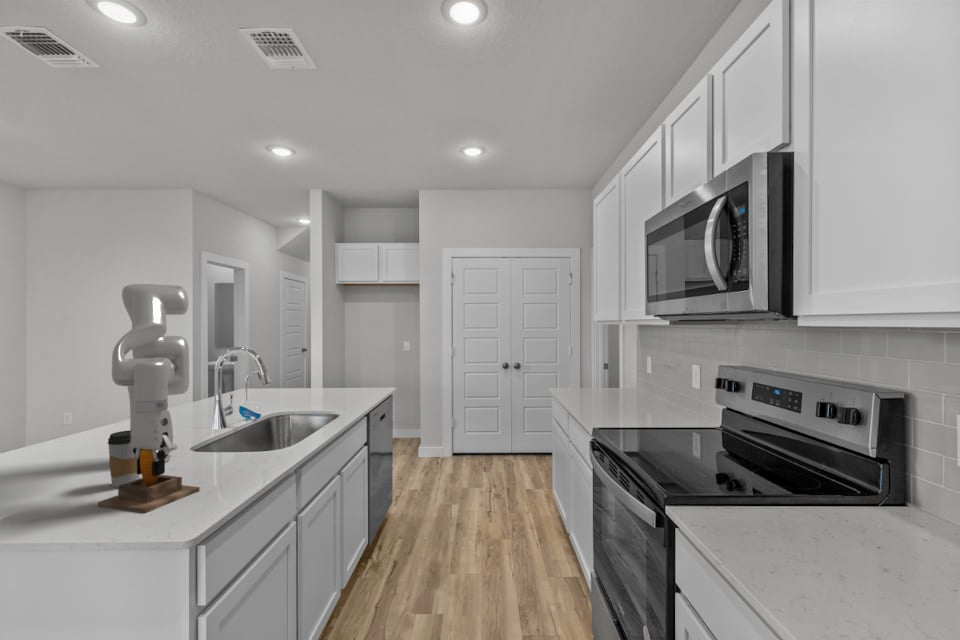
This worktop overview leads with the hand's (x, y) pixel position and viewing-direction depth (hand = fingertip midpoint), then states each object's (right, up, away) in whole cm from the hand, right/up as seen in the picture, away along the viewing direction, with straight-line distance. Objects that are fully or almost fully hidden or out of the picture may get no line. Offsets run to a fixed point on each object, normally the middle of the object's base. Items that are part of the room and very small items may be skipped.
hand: (150, 473), depth 128 cm
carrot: (0, -5, 0) cm, 5 cm away
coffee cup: (-15, -7, +10) cm, 19 cm away
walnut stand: (0, -7, 0) cm, 7 cm away
